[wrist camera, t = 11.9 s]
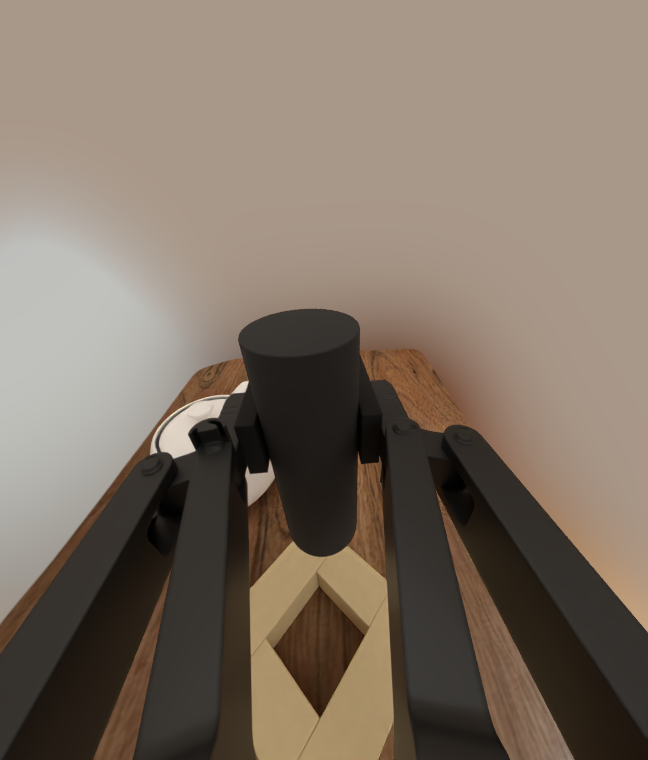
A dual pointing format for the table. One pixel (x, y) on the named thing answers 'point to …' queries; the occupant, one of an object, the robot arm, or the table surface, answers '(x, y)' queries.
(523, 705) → the table surface
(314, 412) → the black cylinder peg
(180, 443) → the teapot
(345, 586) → the base pad
